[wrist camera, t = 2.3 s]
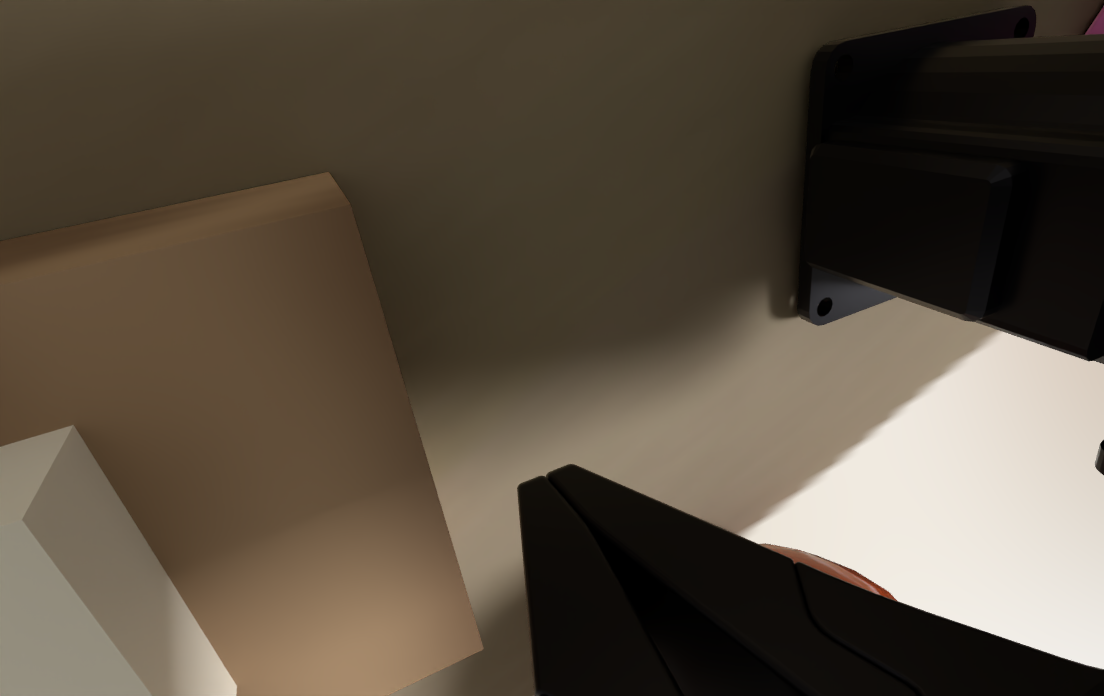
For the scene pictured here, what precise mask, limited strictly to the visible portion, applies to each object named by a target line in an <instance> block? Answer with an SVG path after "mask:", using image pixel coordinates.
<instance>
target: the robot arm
mask: <svg viewBox="0 0 1104 696" xmlns="http://www.w3.org/2000/svg"><path fill="white" fill-rule="evenodd" d="M1035 27H1036V14H1035V10H1034V9H1033V8H1032V6H1015V7H1007V8H1001V9H996V10H991V11H986V12H981V13H976V14H971V15H966V16H960V17H955V18H950V19H945V20H940V21H935V22H930V23H925V24H919V25H914V26H909V27H904V28H899V29H894V30H889V31H884V32H878V33H873V34H868V35H863V36H858V37H853V38H848V39H843V40H837V41H832V42H829V43H827V44H825V45H823V46H822V47H821V48H820V50H819V51H818V52H817V53H816V56H815V58H814V60H813V62H812V67H811V75H810V93H809V110H808V128H807V146H806V163H805V181H804V199H803V217H802V234H801V252H800V270H799V288H798V305H797V309H798V314H799V316H800V317H801V319H804V320H806V321H808V322H810V323H813V324H815V325H817V326H819V325H824V324H827V323H830V322H832V321H835V320H838V319H840V318H843V317H845V316H848V315H851V314H853V313H856V312H859V311H861V310H864V309H867V308H869V307H872V306H875V305H877V304H880V303H883V302H885V301H888V300H891V299H893V298H896V297H898V298H901V299H904V300H907V301H910V302H913V303H916V304H919V305H921V306H924V307H927V308H930V309H933V310H936V311H939V312H941V313H944V314H947V315H950V316H953V317H956V318H959V319H962V320H964V321H972V322H977V323H980V324H983V325H985V326H988V327H991V328H994V329H997V330H1000V331H1003V332H1006V333H1009V334H1011V335H1014V336H1017V337H1020V338H1023V339H1026V340H1029V341H1032V342H1035V343H1038V344H1040V345H1043V346H1047V347H1049V348H1052V349H1055V350H1058V351H1061V352H1064V353H1066V354H1069V355H1073V356H1075V357H1078V358H1081V359H1084V360H1087V361H1096V362H1099V363H1103V364H1104V34H1089V35H1069V36H1050V37H1033V36H1034V31H1035ZM837 61H838V68H837V72H836V74H835V71H834V69H835V65H836V62H837ZM818 304H819V305H818ZM1095 467H1096V469H1097V470H1098V471H1099V472H1100V473H1102V474H1103V475H1104V440H1103V441H1102V442H1101V444H1100V447H1099V451H1098V454H1097V458H1096V461H1095ZM517 492H518V504H519V516H520V528H521V540H522V552H523V564H524V576H525V588H526V600H527V612H528V624H529V636H530V648H531V660H532V673H533V685H534V694H535V696H1104V669H1100V668H1095V667H1092V666H1087V665H1084V664H1081V663H1078V662H1074V661H1071V660H1068V659H1064V658H1061V657H1058V656H1055V655H1052V654H1049V653H1047V652H1043V651H1041V650H1038V649H1034V648H1032V647H1029V646H1026V645H1023V644H1020V643H1017V642H1014V641H1011V640H1008V639H1005V638H1002V637H999V636H996V635H994V634H991V633H988V632H985V631H982V630H979V629H976V628H973V627H970V626H967V625H964V624H961V623H958V622H955V621H952V620H949V619H946V618H944V617H941V616H937V615H935V614H932V613H928V612H926V611H923V610H920V609H918V608H915V607H912V606H909V605H907V604H904V603H901V602H898V601H896V600H893V599H890V598H887V597H884V596H882V595H879V594H876V593H874V592H871V591H869V590H866V589H864V588H861V587H859V586H856V585H854V584H851V583H849V582H847V581H844V580H842V579H839V578H837V577H834V576H832V575H829V574H827V573H825V572H822V571H820V570H818V569H815V568H813V567H811V566H808V565H806V564H804V563H802V562H796V563H795V564H794V561H793V559H791V558H789V557H787V556H785V555H782V554H780V553H778V552H776V551H773V550H771V549H769V548H766V547H764V546H762V545H759V544H757V543H755V542H752V541H750V540H748V539H745V538H743V537H741V536H739V535H736V534H734V533H732V532H729V531H727V530H725V529H722V528H720V527H718V526H715V525H713V524H711V523H709V522H706V521H704V520H702V519H699V518H697V517H695V516H692V515H690V514H688V513H685V512H683V511H681V510H678V509H676V508H674V507H672V506H669V505H667V504H665V503H662V502H660V501H658V500H655V499H653V498H651V497H648V496H646V495H644V494H641V493H639V492H637V491H635V490H632V489H630V488H628V487H625V486H623V485H621V484H618V483H616V482H614V481H611V480H609V479H607V478H604V477H602V476H600V475H598V474H595V473H593V472H591V471H588V470H586V469H584V468H581V467H579V466H577V465H574V464H569V465H566V466H563V467H561V468H558V469H556V470H553V471H551V472H549V473H548V474H547V475H546V477H545V476H538V477H536V478H533V479H531V480H528V481H526V482H523V483H521V484H519V485H518V488H517Z"/></svg>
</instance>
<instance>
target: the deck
mask: <svg viewBox="0 0 1104 696" xmlns="http://www.w3.org/2000/svg"><path fill="white" fill-rule="evenodd" d="M72 425H74V426H75V428H76V430H77V431H78V433H79V434H80V436H81V438H82V439H83V441H84V442H85V444H86V446H87V447H88V449H89V450H90V452H91V454H92V455H93V457H94V458H95V460H96V462H97V463H98V465H99V466H100V468H101V470H102V471H103V473H104V474H105V476H106V478H107V479H108V481H109V482H110V484H111V486H112V487H113V489H114V490H115V492H116V493H117V495H118V497H119V498H120V500H121V501H122V503H123V505H124V506H125V508H126V509H127V511H128V513H129V514H130V516H131V517H132V519H133V521H134V522H135V524H136V525H137V527H138V529H139V530H140V532H141V533H142V535H143V537H144V538H145V540H146V541H147V543H148V545H149V546H150V548H151V549H152V551H153V553H154V554H155V556H156V557H157V559H158V561H159V562H160V564H161V565H162V567H163V569H164V570H165V572H166V573H167V575H168V577H169V578H170V580H171V581H172V583H173V585H174V586H175V588H176V589H177V591H178V593H179V594H180V596H181V597H182V599H183V601H184V602H185V604H186V605H187V607H188V609H189V610H190V612H191V613H192V615H193V617H194V618H195V620H196V621H197V623H198V625H199V626H200V628H201V629H202V631H203V633H204V634H205V636H206V637H207V639H208V641H209V642H210V644H211V645H212V647H213V649H214V650H215V652H216V653H217V655H218V657H219V658H220V660H221V661H222V663H223V665H224V666H225V668H226V669H227V671H228V673H229V674H230V676H231V677H232V679H233V681H234V682H235V684H236V685H237V694H236V696H388V695H390V694H392V693H394V692H396V691H398V690H400V689H402V688H404V687H406V686H408V685H411V684H413V683H415V682H417V681H419V680H421V679H423V678H425V677H427V676H429V675H431V674H433V673H435V672H438V671H440V670H442V669H444V668H446V667H448V666H450V665H452V664H454V663H456V662H458V661H460V660H463V659H465V658H467V657H469V656H471V655H473V654H475V653H477V652H479V651H481V650H483V649H484V648H483V645H482V641H481V638H480V635H479V631H478V628H477V625H476V621H475V618H474V615H473V611H472V608H471V605H470V601H469V598H468V595H467V591H466V588H465V584H464V581H463V578H462V574H461V571H460V568H459V564H458V561H457V558H456V554H455V551H454V548H453V544H452V541H451V538H450V534H449V531H448V528H447V524H446V521H445V518H444V514H443V511H442V508H441V504H440V501H439V498H438V494H437V491H436V488H435V484H434V481H433V478H432V474H431V471H430V468H429V464H428V461H427V458H426V454H425V451H424V447H423V444H422V441H421V437H420V434H419V431H418V427H417V424H416V421H415V417H414V414H413V411H412V407H411V404H410V401H409V397H408V394H407V391H406V387H405V384H404V381H403V377H402V374H401V371H400V367H399V364H398V361H397V357H396V354H395V351H394V347H393V344H392V341H391V337H390V334H389V331H388V327H387V324H386V321H385V317H384V314H383V311H382V307H381V304H380V300H379V297H378V294H377V290H376V287H375V284H374V280H373V277H372V274H371V270H370V267H369V264H368V260H367V257H366V254H365V250H364V247H363V244H362V240H361V237H360V234H359V230H358V227H357V224H356V220H355V217H354V214H353V210H352V207H351V204H350V203H349V201H348V200H347V198H346V197H345V195H344V194H343V192H342V191H341V189H340V188H339V186H338V185H337V183H336V182H335V180H334V179H333V177H332V176H331V174H330V173H329V172H326V173H321V174H316V175H311V176H307V177H302V178H297V179H292V180H288V181H283V182H278V183H273V184H269V185H264V186H259V187H254V188H250V189H245V190H240V191H235V192H231V193H226V194H221V195H216V196H212V197H207V198H202V199H198V200H193V201H188V202H183V203H179V204H174V205H169V206H164V207H160V208H155V209H150V210H145V211H141V212H136V213H131V214H126V215H122V216H117V217H112V218H107V219H103V220H98V221H93V222H88V223H84V224H79V225H74V226H69V227H65V228H60V229H55V230H50V231H46V232H41V233H36V234H31V235H27V236H22V237H17V238H13V239H8V240H3V241H0V447H1V446H5V445H8V444H11V443H15V442H18V441H21V440H25V439H28V438H31V437H35V436H38V435H42V434H45V433H48V432H52V431H55V430H58V429H62V428H65V427H68V426H72Z"/></svg>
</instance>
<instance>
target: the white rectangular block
mask: <svg viewBox="0 0 1104 696" xmlns="http://www.w3.org/2000/svg"><path fill="white" fill-rule="evenodd" d="M236 694H237V685H236V684H235V682H234V681H233V679H232V677H231V676H230V674H229V673H228V671H227V669H226V668H225V666H224V665H223V663H222V661H221V660H220V658H219V657H218V655H217V653H216V652H215V650H214V649H213V647H212V645H211V644H210V642H209V641H208V639H207V637H206V636H205V634H204V633H203V631H202V629H201V628H200V626H199V625H198V623H197V621H196V620H195V618H194V617H193V615H192V613H191V612H190V610H189V609H188V607H187V605H186V604H185V602H184V601H183V599H182V597H181V596H180V594H179V593H178V591H177V589H176V588H175V586H174V585H173V583H172V581H171V580H170V578H169V577H168V575H167V573H166V572H165V570H164V569H163V567H162V565H161V564H160V562H159V561H158V559H157V557H156V556H155V554H154V553H153V551H152V549H151V548H150V546H149V545H148V543H147V541H146V540H145V538H144V537H143V535H142V533H141V532H140V530H139V529H138V527H137V525H136V524H135V522H134V521H133V519H132V517H131V516H130V514H129V513H128V511H127V509H126V508H125V506H124V505H123V503H122V501H121V500H120V498H119V497H118V495H117V493H116V492H115V490H114V489H113V487H112V486H111V484H110V482H109V481H108V479H107V478H106V476H105V474H104V473H103V471H102V470H101V468H100V466H99V465H98V463H97V462H96V460H95V458H94V457H93V455H92V454H91V452H90V450H89V449H88V447H87V446H86V444H85V442H84V441H83V439H82V438H81V436H80V434H79V433H78V431H77V430H76V428H75V426H74V425H72V426H68V427H65V428H62V429H58V430H55V431H52V432H48V433H45V434H42V435H38V436H35V437H31V438H28V439H25V440H21V441H18V442H15V443H11V444H8V445H5V446H1V447H0V696H236Z"/></svg>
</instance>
